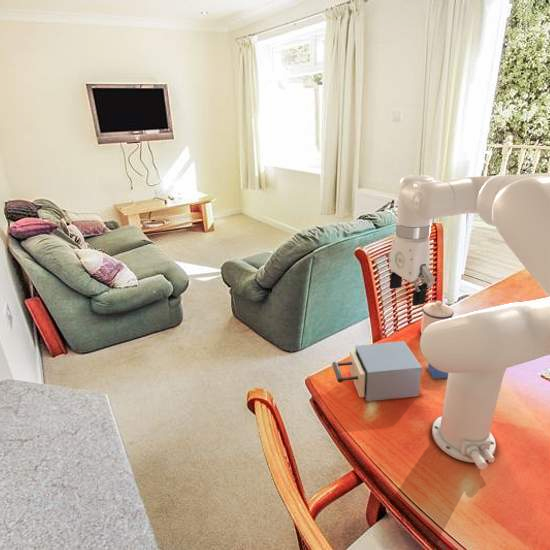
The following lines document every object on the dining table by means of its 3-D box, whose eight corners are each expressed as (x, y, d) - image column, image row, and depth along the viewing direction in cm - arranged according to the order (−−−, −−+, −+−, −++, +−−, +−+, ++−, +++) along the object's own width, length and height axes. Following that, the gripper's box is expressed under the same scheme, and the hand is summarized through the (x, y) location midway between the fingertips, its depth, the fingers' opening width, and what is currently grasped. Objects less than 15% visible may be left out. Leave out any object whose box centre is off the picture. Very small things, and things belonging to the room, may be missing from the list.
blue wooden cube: (448, 377, 101) (450, 365, 100) (434, 378, 101) (435, 366, 100) (441, 368, 105) (443, 356, 103) (427, 369, 105) (429, 357, 103)
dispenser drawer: (339, 399, 95) (339, 376, 92) (330, 373, 105) (330, 351, 102) (407, 392, 96) (410, 369, 93) (393, 367, 105) (394, 345, 102)
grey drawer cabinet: (366, 401, 95) (368, 372, 91) (354, 372, 106) (355, 345, 102) (419, 396, 96) (422, 367, 92) (401, 367, 106) (404, 340, 103)
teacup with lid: (445, 344, 115) (450, 311, 110) (415, 336, 120) (419, 304, 116) (456, 327, 123) (461, 296, 119) (428, 319, 129) (431, 289, 124)
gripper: (378, 223, 94) (375, 284, 101) (422, 244, 78) (414, 314, 85) (404, 219, 95) (399, 279, 102) (452, 239, 80) (442, 308, 87)
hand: (406, 295), depth 94 cm, fingers open, 9 cm apart
